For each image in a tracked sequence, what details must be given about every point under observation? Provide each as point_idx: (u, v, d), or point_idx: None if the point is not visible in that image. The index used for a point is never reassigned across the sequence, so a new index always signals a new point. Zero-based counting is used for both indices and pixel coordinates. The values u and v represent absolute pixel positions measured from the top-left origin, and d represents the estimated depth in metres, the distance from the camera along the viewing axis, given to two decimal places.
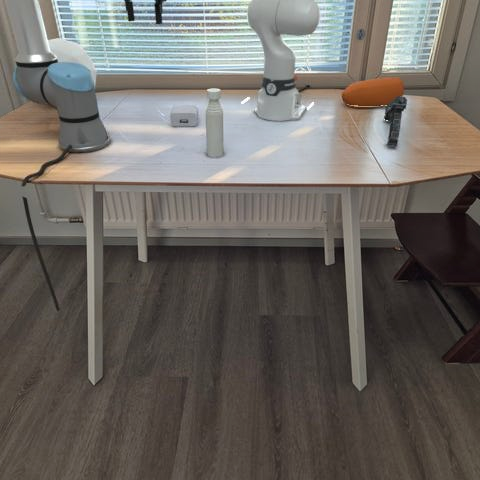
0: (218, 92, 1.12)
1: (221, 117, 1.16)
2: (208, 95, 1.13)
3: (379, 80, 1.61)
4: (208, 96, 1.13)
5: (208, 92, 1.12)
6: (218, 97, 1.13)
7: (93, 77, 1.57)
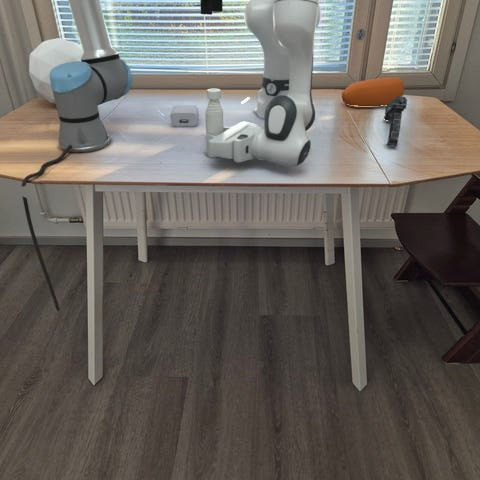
0: (218, 92, 1.12)
1: (221, 117, 1.16)
2: (208, 95, 1.13)
3: (379, 80, 1.61)
4: (208, 96, 1.13)
5: (208, 92, 1.12)
6: (218, 97, 1.13)
7: None
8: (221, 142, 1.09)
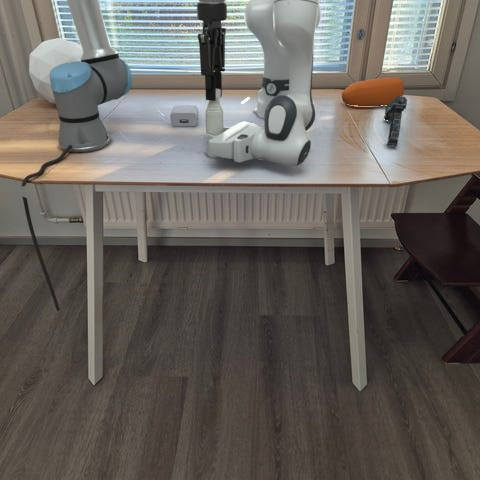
0: (218, 92, 1.12)
1: (221, 117, 1.16)
2: None
3: (379, 80, 1.61)
4: None
5: None
6: (218, 97, 1.13)
7: None
8: (221, 142, 1.09)
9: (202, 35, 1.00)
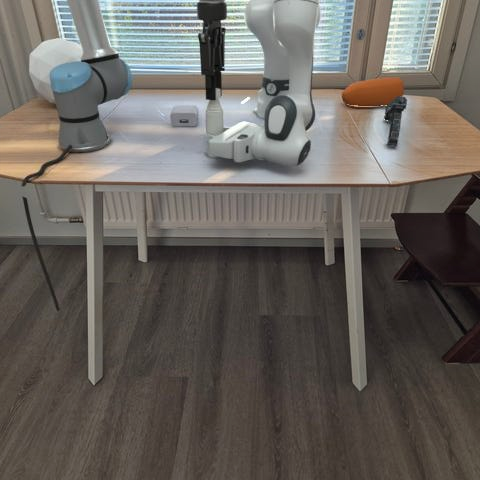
0: None
1: (221, 117, 1.16)
2: (220, 94, 1.13)
3: (379, 80, 1.61)
4: (220, 95, 1.14)
5: (220, 91, 1.13)
6: None
7: None
8: (221, 142, 1.09)
9: (202, 35, 1.00)
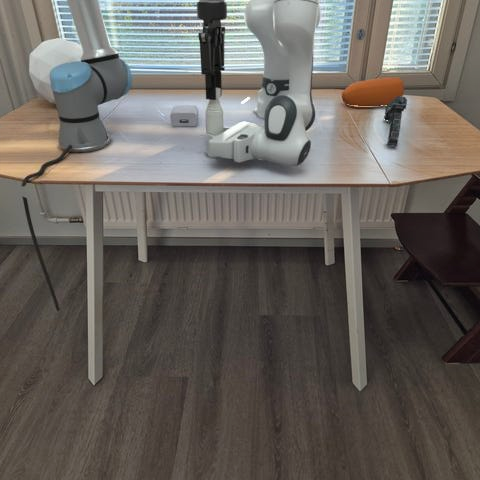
0: None
1: (221, 117, 1.16)
2: None
3: (379, 80, 1.61)
4: None
5: None
6: None
7: None
8: (221, 142, 1.09)
9: (203, 34, 1.00)
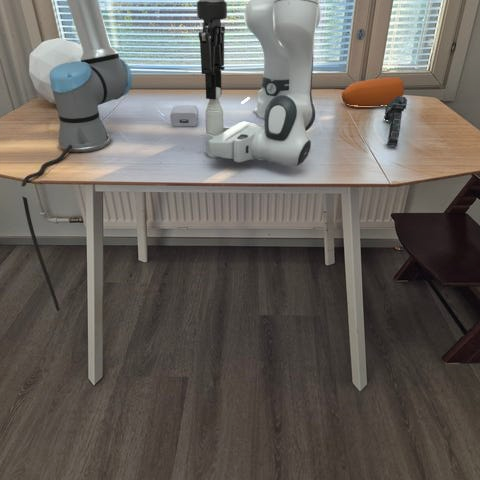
0: (220, 89, 1.13)
1: (221, 117, 1.16)
2: None
3: (379, 80, 1.61)
4: None
5: None
6: (220, 94, 1.14)
7: None
8: (221, 142, 1.09)
9: (203, 33, 0.99)
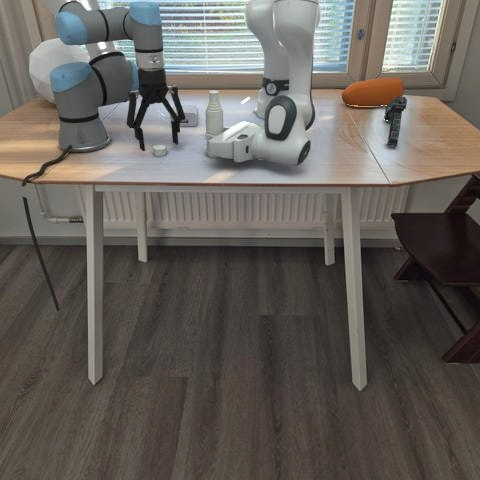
0: None
1: (221, 117, 1.16)
2: None
3: (379, 80, 1.61)
4: None
5: None
6: None
7: None
8: (221, 142, 1.09)
9: (175, 86, 1.16)
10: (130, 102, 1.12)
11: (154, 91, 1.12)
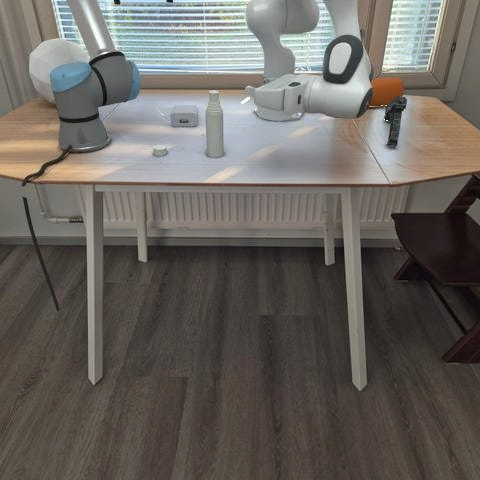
0: None
1: (221, 117, 1.16)
2: None
3: (379, 80, 1.61)
4: None
5: None
6: None
7: None
8: (270, 90, 0.95)
9: None
10: None
11: None
